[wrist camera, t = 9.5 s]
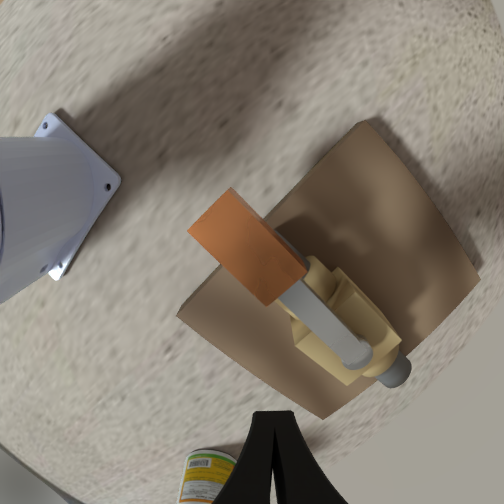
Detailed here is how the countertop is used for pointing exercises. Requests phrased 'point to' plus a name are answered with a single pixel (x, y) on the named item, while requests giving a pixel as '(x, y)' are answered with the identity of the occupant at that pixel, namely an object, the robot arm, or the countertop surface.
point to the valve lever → (273, 272)
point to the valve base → (364, 246)
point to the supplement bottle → (204, 476)
